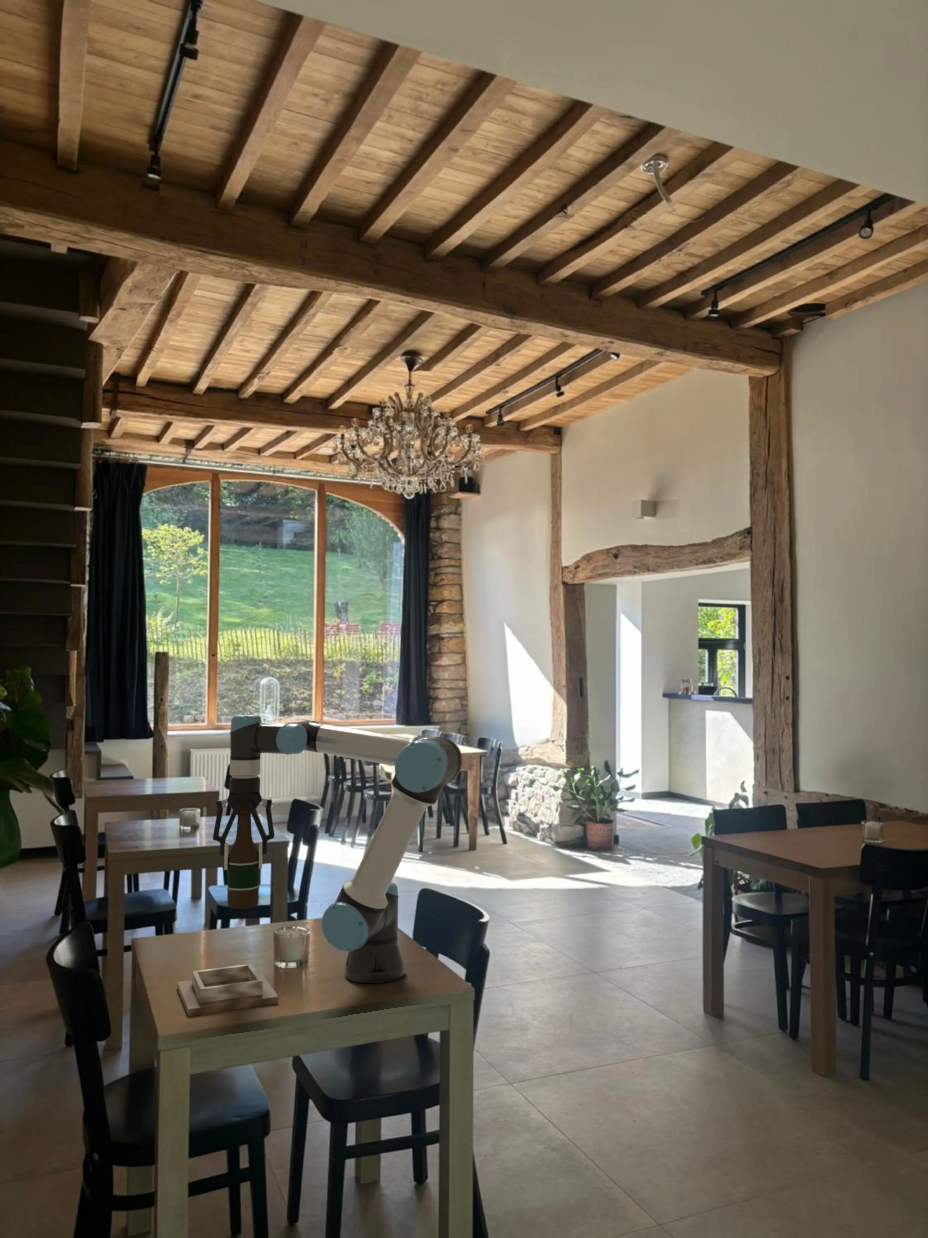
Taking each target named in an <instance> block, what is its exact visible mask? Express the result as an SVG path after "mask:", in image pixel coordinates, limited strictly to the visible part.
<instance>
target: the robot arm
mask: <svg viewBox="0 0 928 1238" xmlns="http://www.w3.org/2000/svg"><path fill="white" fill-rule="evenodd" d="M262 721H263V720H262V717H261V715H259V714H237V715H234V716H232V717H231V720H230V732H229V736H230V742H229V743H230V749H229V751H230V755H229V756H230V757H229V775H230V776H231V777H230V778H229V785H228V786H229V788H228V789H229V792H228V793H229V794H228V797H227V798H224V799H218V800H217V801H216V808H217V809H216V810H217V812H216V818H215V824H214V829H213V835H212V840H213V841H214V842H215V841H216V842H218V843H219V854H220V855H219V856H220V857H223V856H224V862H223V866H224V867H223V870H224V871H228V855H229V847H230V846H229V843H230V841H226V840H227V837H228V835H229V833H230V830H231V828H232V825H233V823H234V822H235V819H236V817H237V816H238V812H239V811H240V810H241V809H248V810H249V812H250V813H249V814H251V818H253V820H254V824H255V826H256V829H257V831H258V834H259V836H260V838H261V840H259V841H258V853H259V870H260V869H261V870H262V868H263V855H267V853H268V841H270V840H272V839H274V838H275V828H274V822H273V815H272V814H273V813H272V802H273V799H272V798H265V797H262V795H261V792H260V791H261V777H260V776H259V775H260V774H261V754H276V755H278V754H280V755H286V756H287V755H299V754H301V753H302V752H303V751H307V752H312V753H319V754H320V753H321V754H327V755H330V756H331V755H332V756H337V757H343V758H348V759H354V760H359V761H366V762H370V763H376V764H383V765H388V766H393V767H394V771H395V774H394V775H393V778H392V781H391V782H390V783H391V784H390V785H391V787H392V790H393V793H392V795H391V797H390V800H389V802H388V804H387V806H386V808H385V810H384V813H383V815H382V816H381V818H380V821H379V823H378V825H377V827H376V829H375V830H374V831H375V832H374V834H373V836H372V838H371V839H370V842H369V844H368V846H367V849H365V850H366V851H365V852H364V854H363V857H362V859H361V861H360V863H359V865H358V867H357V870H356V872H355V874H354V876H353V878H352V879H349V880H347V881H345V882H344V883H343V885H342V887H341V888H340V891H339V893H338V896H337V898H336V899H335V901H334V902H333V903H331V904H330V905H329V906H328V907H327V909H325V911H324V912H323V914H322V917H321V930H322V932H323V936H324V938H325V940H326V941H327V943H328V944H329V945H330V946H331V947H333V948H335V949H336V950H338V951H341V952H348V954H347V957H346V959H345V960H346V961H345V964H344V977H345V978H346V979H347V980H349V981H352V982H356V983H362V984H382V983H383V984H384V983H389V982H393V981H396V980H398V979H401V978H402V977H404V975H405V971H406V970H405V969H406V968H405V965H406V964H405V962H404V960H403V957H402V952H401V949H400V946H399V941H398V939H399V938H398V935H399V934H398V933H399V898H400V895H399V892H398V891H399V890H398V889H399V887H398V885H397V884H396V883H395V882H392V881H393V879H394V877H395V875H396V873H397V870H398V869H399V866H400V864H401V862H402V860H403V859H404V855H405V854H406V852H407V849H408V848H409V845H410V843H411V841H412V839H413V836H414V835H415V832H416V830H417V829H418V826H419V824H420V822H421V820H422V818H423V815H424V813H425V812H426V810H427V808H428V807H431V806H434V805H435V804H436V803H437V801H438V799H439V797H440V794H441V793H442V790H443V788H444V786H445V785H446V784H449V783H451V782H452V781H454V780H455V779H456V778H457V777H458V776H459V774H460V772H461V770H462V766H463V754H462V751H461V749H460V748H459V746H458V745H457V744H456V743H455V742H454V740H451V739H450V738H448V737H443V736H424V735H416V736H414V737H413V738H411V737H407V736H406V737H404V736H399V735H394V734H393V735H392V734H388V733H387V734H386V733H382V732H375V731H367V730H363V729H356V728H352V727H351V728H350V727H345V726H338V725H331V724H323V723H320V722H318V721H316V720H310V719H309V720H307V719H306V720H302V721H292V722H284V723H283V722H282V723H265V722H262ZM261 803H262V807H263V808H265V815H266V821H267V822H266V823H267V830H268V834H267V833H266V830H265V828H264V826H263V823H262V820H261V819H260V816H259V812H258V809H257V808H258V807H259V805H260V804H261ZM227 804H228V805H229V807H230V808H231V810H232V812H231V815H230V817H229V819H228V821H227V823H226V826H225V828H224V830H223V832H222V835H220V829H221V823H222V818H223V812H224V809H225V808H226V805H227Z"/></svg>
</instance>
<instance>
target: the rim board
mask: <svg viewBox="0 0 928 1238" xmlns="http://www.w3.org/2000/svg"><path fill="white" fill-rule="evenodd" d="M191 972H192V973H191V979H190V980H182V981H177V991H178V993H179V996H180V999H181V1001H182V1004H183V1006H184V1008H185V1011H186V1014H187V1016H188V1017H192V1016H193V1017H194V1016H198V1015H206V1014H212V1013H218V1012H219V1013H220V1012H228V1011H233V1010H240V1009H247V1008H255V1007H262V1006H268V1005H269V1006H270V1005H275V1004H279V995H278V993H276V991H275V990H274V989H273V986H271V984H270V982H269V981H268V980H267V978H266V977H265V975H264V974H263V972H262V971H261V970H260V971H259V970H258V971H256V969H255V967H254V966H253V964H252V963H249V964H241V965H231V966H225V967H215V968H209V969H200V970H193V971H191Z"/></svg>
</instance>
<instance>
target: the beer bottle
mask: <svg viewBox="0 0 928 1238" xmlns="http://www.w3.org/2000/svg"><path fill="white" fill-rule="evenodd" d="M249 813H250V812H249V810H248V809H241V810H240V811H239V812H238V814H237V823H236V835H235V838H234V839H235V840H234V842H233V844H232V845H231V846H230V848H229V850H228V869H227V886H226V887H227V888H226V889H227V891H226V892H227V894H226V895H227V897H226V903H227V906H228V907H229V908H230V909H236V910H242V909H243V910H245V909H251V908H254V907H256V906H258V905H259V894H260V893H259V890H260V888H259V887H260V884H259V883H260V869H259V849H258V847H257V846H256V844H255V842H254V840H253V833H252V815H251V814H249Z"/></svg>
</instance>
